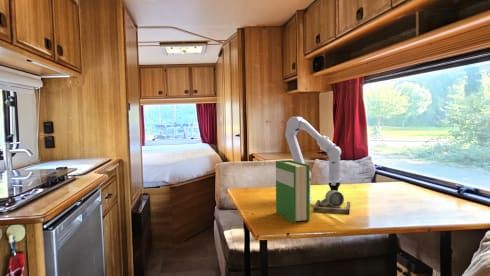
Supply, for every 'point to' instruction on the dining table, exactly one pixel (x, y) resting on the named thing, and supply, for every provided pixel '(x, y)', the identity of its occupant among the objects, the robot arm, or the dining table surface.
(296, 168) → the hardback book
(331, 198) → the ceramic mug
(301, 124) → the robot arm
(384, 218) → the dining table surface
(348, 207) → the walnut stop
